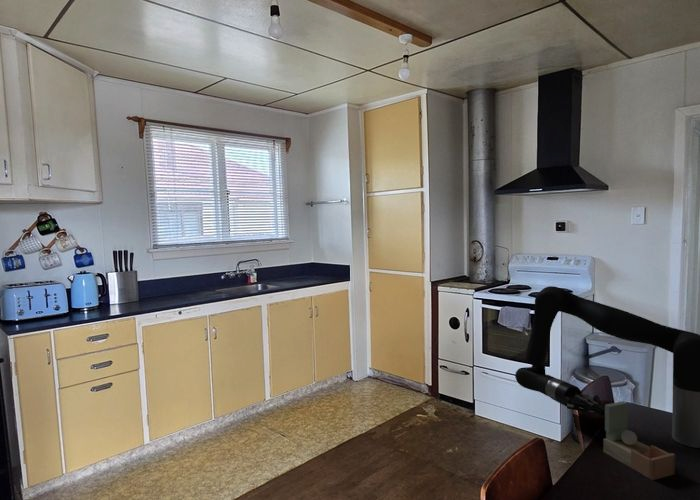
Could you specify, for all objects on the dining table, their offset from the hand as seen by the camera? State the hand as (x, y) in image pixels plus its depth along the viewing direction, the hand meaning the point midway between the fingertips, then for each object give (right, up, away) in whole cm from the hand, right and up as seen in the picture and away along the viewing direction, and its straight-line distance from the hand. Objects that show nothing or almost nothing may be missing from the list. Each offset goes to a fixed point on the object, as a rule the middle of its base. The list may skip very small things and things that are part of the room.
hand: (605, 412), depth 133 cm
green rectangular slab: (+1, -6, -4) cm, 7 cm away
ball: (+2, -4, -7) cm, 9 cm away
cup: (+5, -11, -14) cm, 18 cm away
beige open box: (+2, -10, -6) cm, 12 cm away
